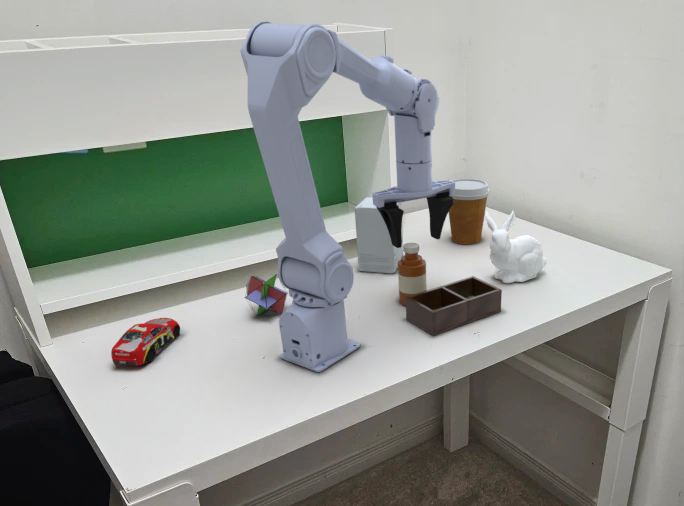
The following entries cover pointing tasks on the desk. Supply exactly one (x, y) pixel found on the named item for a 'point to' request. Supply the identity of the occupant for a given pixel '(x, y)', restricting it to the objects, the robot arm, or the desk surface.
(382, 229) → the white packaging box
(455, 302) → the wooden compartment tray
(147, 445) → the desk surface
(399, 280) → the amber bottle
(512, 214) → the rabbit
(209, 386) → the desk surface
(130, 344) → the race car
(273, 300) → the geometric puzzle
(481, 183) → the disposable coffee cup
